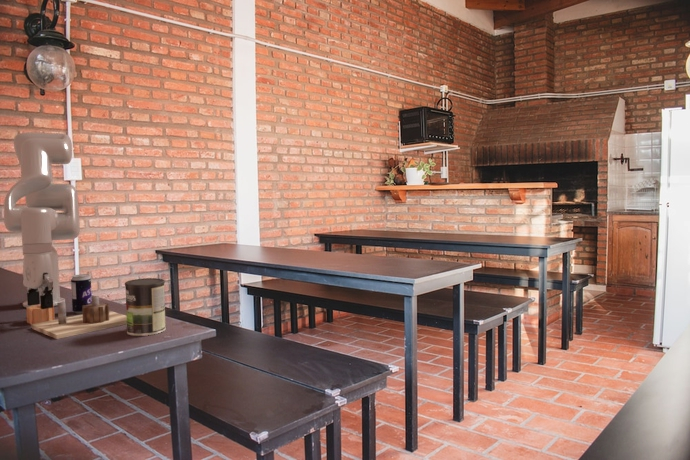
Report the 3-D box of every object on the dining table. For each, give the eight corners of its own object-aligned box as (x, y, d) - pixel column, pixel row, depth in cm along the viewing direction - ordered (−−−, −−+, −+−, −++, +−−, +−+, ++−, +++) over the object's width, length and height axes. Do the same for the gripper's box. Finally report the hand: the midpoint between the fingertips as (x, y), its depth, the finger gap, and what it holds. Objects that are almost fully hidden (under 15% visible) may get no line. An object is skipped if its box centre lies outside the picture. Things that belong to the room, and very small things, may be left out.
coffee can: (133, 338, 136) (131, 286, 134) (121, 330, 143) (119, 280, 142) (171, 331, 142) (170, 281, 141) (158, 324, 150) (156, 276, 149)
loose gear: (21, 323, 151) (20, 308, 151) (41, 317, 158) (41, 303, 158) (40, 325, 149) (39, 310, 149) (60, 319, 156) (59, 304, 156)
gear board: (31, 328, 146) (29, 299, 145) (107, 313, 163) (106, 287, 162) (56, 339, 135) (55, 307, 135) (135, 322, 152) (134, 294, 152)
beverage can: (84, 314, 162) (82, 277, 161) (68, 313, 163) (66, 276, 162) (96, 310, 167) (94, 274, 166) (81, 309, 168) (79, 273, 168)
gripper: (12, 249, 154) (15, 305, 155) (35, 251, 143) (38, 312, 144) (39, 247, 160) (42, 301, 161) (63, 249, 149) (66, 307, 150)
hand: (40, 306), depth 153 cm, fingers open, 9 cm apart
